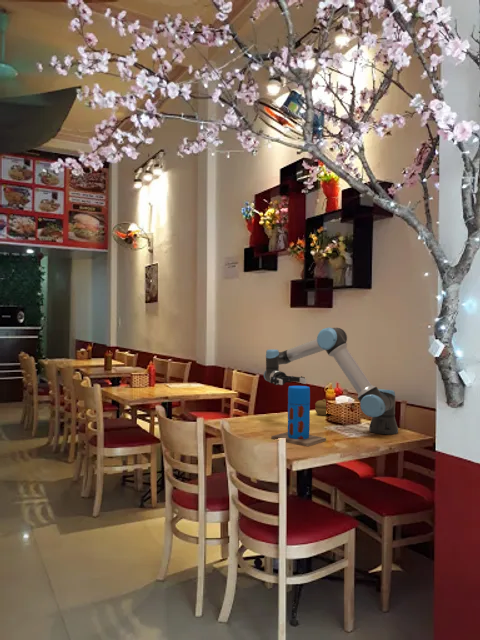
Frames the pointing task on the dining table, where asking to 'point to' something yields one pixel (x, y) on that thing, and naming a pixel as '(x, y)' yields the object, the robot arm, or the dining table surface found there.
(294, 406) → the thermos
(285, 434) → the serving board
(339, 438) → the dining table surface
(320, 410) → the pot
